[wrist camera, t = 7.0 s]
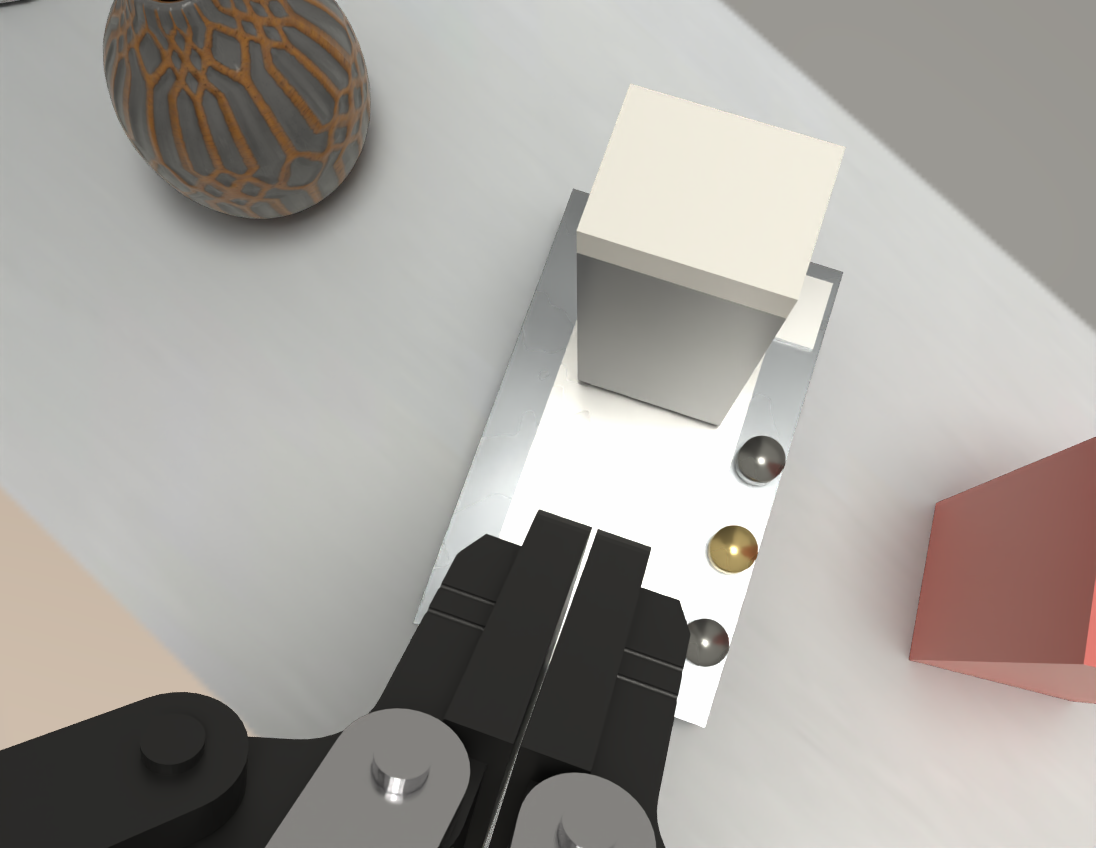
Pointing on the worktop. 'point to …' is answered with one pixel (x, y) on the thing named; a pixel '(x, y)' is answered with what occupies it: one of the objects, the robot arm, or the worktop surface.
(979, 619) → the block
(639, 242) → the block
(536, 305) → the ball-studded metal plate
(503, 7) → the worktop surface
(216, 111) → the vase
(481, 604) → the robot arm
